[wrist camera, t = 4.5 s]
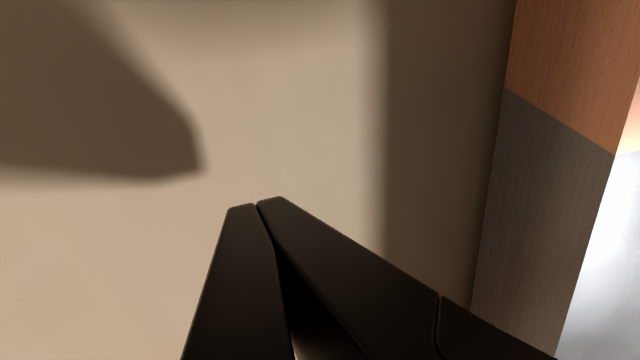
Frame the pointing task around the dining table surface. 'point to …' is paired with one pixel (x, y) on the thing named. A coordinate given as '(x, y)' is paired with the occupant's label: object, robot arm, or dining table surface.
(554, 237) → the tongs arm
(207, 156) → the dining table surface
